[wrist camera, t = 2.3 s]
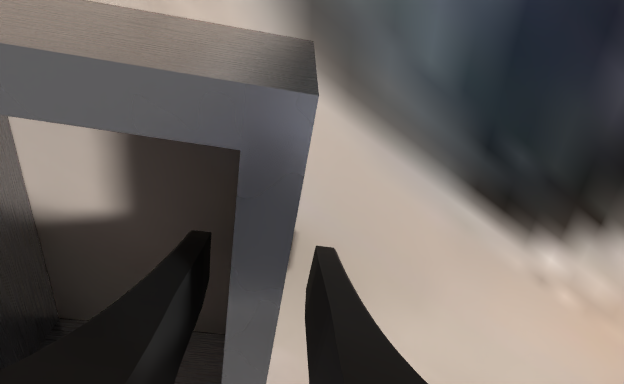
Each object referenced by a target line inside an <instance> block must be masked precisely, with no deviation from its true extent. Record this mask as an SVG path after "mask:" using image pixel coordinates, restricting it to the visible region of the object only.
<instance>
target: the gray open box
mask: <svg viewBox="0 0 624 384" xmlns="http://www.w3.org/2000/svg"><path fill="white" fill-rule="evenodd" d="M318 97H319V93H318V83H317V73H316V63H315V53H314V43H313V41H309V40H303V39H298V38H292V37H287V36H281V35H275V34H270V33H264V32H259V31H253V30H248V29H242V28H237V27H231V26H225V25H220V24H214V23H209V22H203V21H198V20H192V19H187V18H181V17H175V16H170V15H164V14H159V13H153V12H148V11H142V10H136V9H131V8H125V7H120V6H114V5H109V4H103V3H98V2H92V1H86V0H0V370H2V369H4V368H6V367H8V366H10V365H12V364H14V363H16V362H18V361H20V360H22V359H24V358H26V357H28V356H30V355H32V354H34V353H36V352H38V351H39V350H41V349H43V348H45V347H46V346H48V345H50V344H52V343H53V342H55V341H57V340H59V339H60V338H62V337H64V336H66V335H67V334H69V333H71V332H72V331H74V330H75V329H77V328H79V327H80V326H82V325H83V324H85V323H86V322H88V321H78V320H68V319H59V317H58V313H57V309H56V305H55V301H54V297H53V293H52V290H51V286H50V282H49V278H48V274H47V270H46V266H45V262H44V258H43V254H42V250H41V246H40V242H39V238H38V235H37V231H36V227H35V223H34V219H33V215H32V211H31V207H30V203H29V199H28V195H27V191H26V187H25V183H24V180H23V176H22V172H21V168H20V164H19V160H18V156H17V152H16V148H15V144H14V140H13V136H12V132H11V128H10V125H9V121H8V117H7V116H12V117H19V118H25V119H32V120H39V121H46V122H52V123H59V124H66V125H73V126H80V127H86V128H93V129H100V130H107V131H113V132H120V133H127V134H134V135H140V136H147V137H154V138H161V139H168V140H174V141H181V142H188V143H195V144H201V145H208V146H215V147H222V148H229V149H235V150H240V161H239V174H238V186H237V198H236V211H235V223H234V235H233V248H232V260H231V272H230V285H229V297H228V309H227V321H226V334H225V335H220V334H210V333H200V332H193V333H192V335H191V338H190V340H189V343H188V346H187V348H186V351H185V354H184V356H183V359H182V362H181V364H180V367H179V370H178V373H177V376H176V379H175V382H174V384H266V381H267V375H268V370H269V364H270V359H271V353H272V348H273V342H274V337H275V332H276V326H277V321H278V315H279V310H280V304H281V299H282V293H283V288H284V283H285V277H286V272H287V266H288V261H289V255H290V250H291V244H292V239H293V233H294V228H295V223H296V217H297V212H298V206H299V201H300V195H301V190H302V184H303V179H304V174H305V168H306V163H307V157H308V152H309V146H310V141H311V135H312V130H313V124H314V119H315V114H316V108H317V103H318Z"/></svg>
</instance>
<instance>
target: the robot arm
mask: <svg viewBox="0 0 624 384" xmlns="http://www.w3.org/2000/svg"><path fill="white" fill-rule="evenodd" d="M210 249H211V232H203V231H195V230H192V231H191V232H189V233H188V234H187V235H186V237H185V238H184V239H183V240H182V241H181V242H180V243H179V244H178V246H177V247H176V248H175V249H174V250H173V251H172V252H171V253H170V254H169V255H168V256H167V257H166V258H165V259H164V260H163V261H162V262H161V263H160V264H159V265H158V266H157V267H156V268H155V269H154V270H153V271H152V272H151V273H149V274H148V275H147V276H146V277H145V278H144V279H143V280H141V281H140V282H139V283H138V284H137V285H136V286H135V287H133V288H132V289H131V290H130V291H129V292H127V293H126V294H125V295H124V296H122V297H121V298H120V299H119V300H117V301H116V302H115V303H113V304H112V305H111V306H109V307H108V308H107V309H105V310H104V311H102V312H101V313H99V314H98V315H96V316H95V317H94V318H92V319H91V320H89V321H88V322H86V323H85V324H83V325H82V326H80V327H79V328H77V329H75V330H74V331H72V332H71V333H69V334H67V335H66V336H64V337H62V338H60V339H59V340H57V341H55V342H53V343H52V344H50V345H48V346H46V347H45V348H43V349H41V350H39V351H38V352H36V353H34V354H32V355H30V356H28V357H26V358H24V359H22V360H20V361H18V362H16V363H14V364H12V365H10V366H8V367H6V368H4V369H2V370H0V384H174V382H175V379H176V376H177V373H178V370H179V367H180V364H181V362H182V359H183V356H184V354H185V351H186V348H187V346H188V343H189V340H190V338H191V335H192V333H193V330H194V327H195V324H196V322H197V319H198V316H199V314H200V311H201V308H202V305H203V301H204V298H205V294H206V289H207V285H208V281H209V273H210ZM305 326H306V341H307V355H308V369H309V384H428V383H427V382H426V381H425V380H424V379H422V378H421V376H420V375H419V374H418V373H417V372H416V371H415V370H414V369H413V368H412V367H411V366H410V365H409V364H408V362H407V361H406V360H405V359H404V358H403V357H402V356H401V355H400V354H399V353H398V351H397V350H396V349H395V348H394V346H393V345H392V344H391V343H390V342H389V340H388V339H387V338H386V336H385V335H384V334H383V332H382V331H381V330H380V328H379V327H378V325H377V324H376V323H375V321H374V320H373V318H372V317H371V315H370V314H369V312H368V311H367V309H366V307H365V306H364V304H363V303H362V301H361V299H360V298H359V296H358V294H357V292H356V291H355V289H354V287H353V285H352V283H351V282H350V280H349V278H348V276H347V274H346V272H345V270H344V268H343V266H342V263H341V261H340V259H339V257H338V254H337V252H336V250H335V249H334V248H331V247H323V246H316V248H315V252H314V257H313V261H312V265H311V270H310V274H309V279H308V283H307V288H306V302H305Z"/></svg>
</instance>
